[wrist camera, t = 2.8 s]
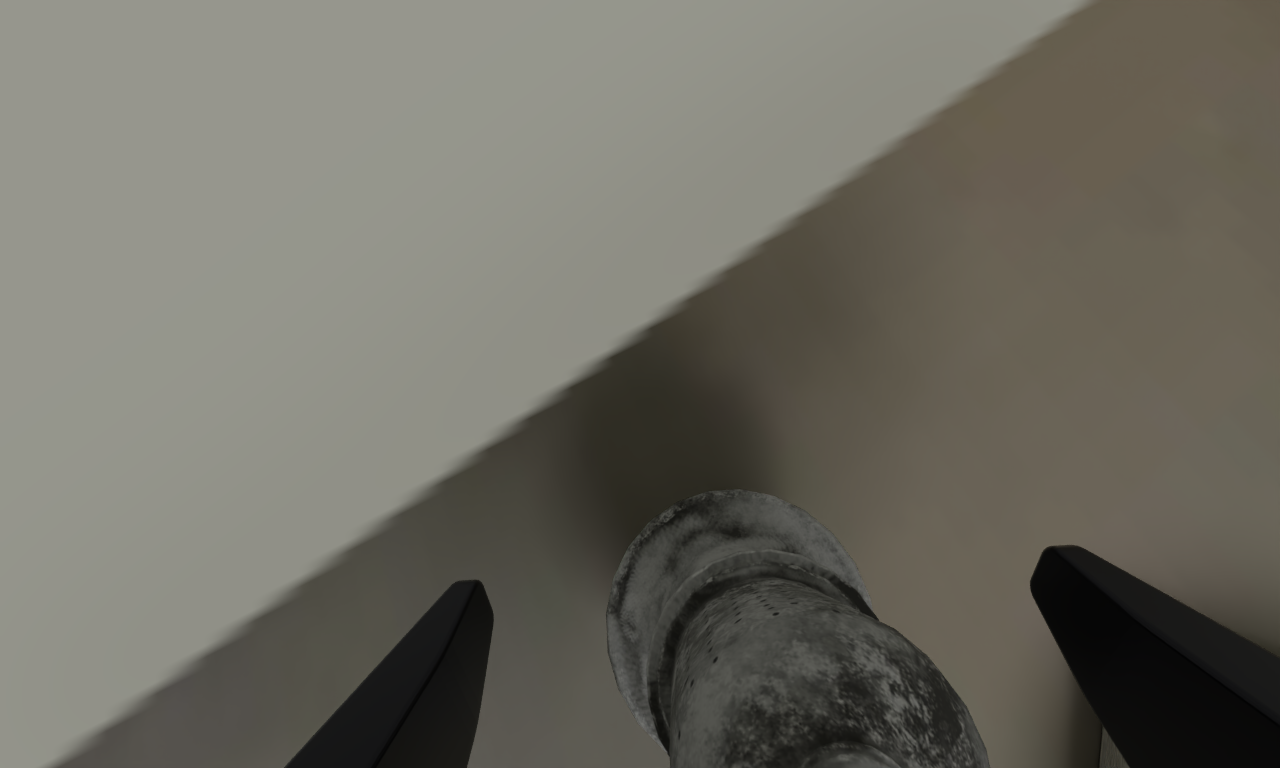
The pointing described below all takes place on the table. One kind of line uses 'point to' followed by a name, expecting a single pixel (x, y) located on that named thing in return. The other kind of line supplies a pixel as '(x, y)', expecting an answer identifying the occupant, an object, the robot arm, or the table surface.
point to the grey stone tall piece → (771, 648)
